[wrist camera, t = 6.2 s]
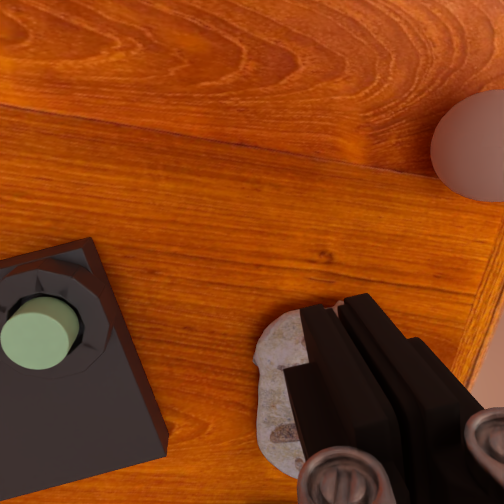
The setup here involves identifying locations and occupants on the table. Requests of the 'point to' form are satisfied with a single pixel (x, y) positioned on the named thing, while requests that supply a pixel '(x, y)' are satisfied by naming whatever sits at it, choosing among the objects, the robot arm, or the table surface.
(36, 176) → the table surface
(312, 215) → the table surface
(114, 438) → the grey push button base
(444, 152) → the egg
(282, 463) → the stone
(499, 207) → the table surface
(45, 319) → the button
